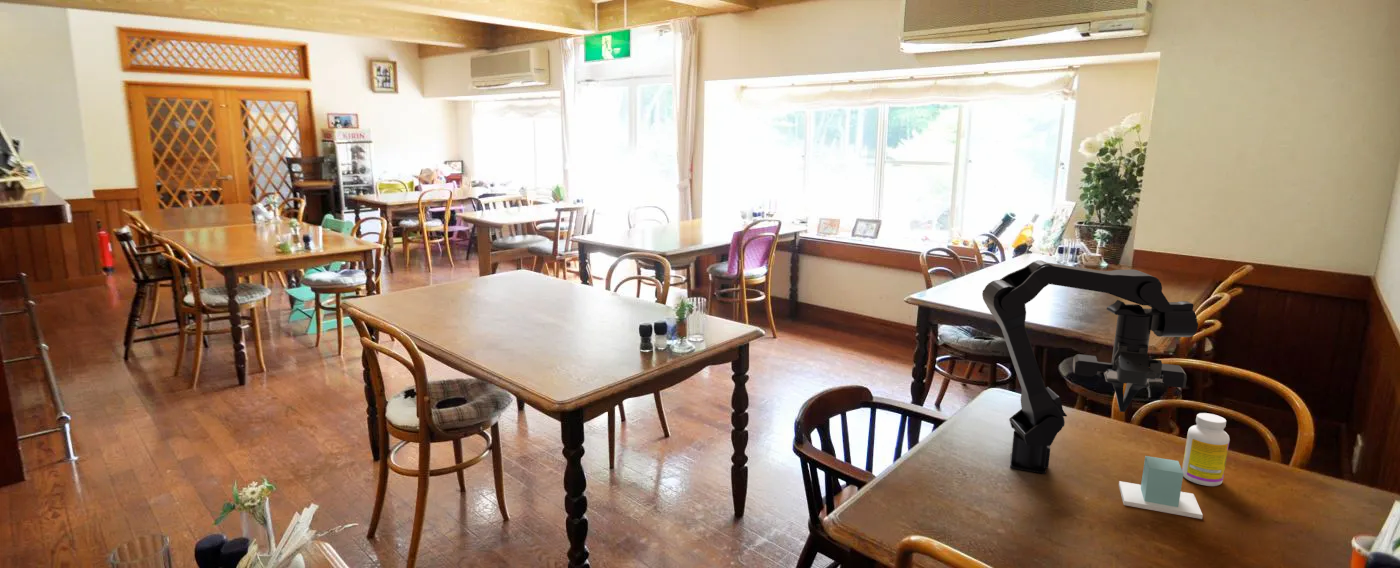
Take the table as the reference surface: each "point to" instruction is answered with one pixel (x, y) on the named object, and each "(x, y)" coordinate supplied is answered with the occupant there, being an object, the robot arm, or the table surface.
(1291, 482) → the table surface
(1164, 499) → the teal rectangular block
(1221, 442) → the supplement bottle
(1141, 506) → the post stand
